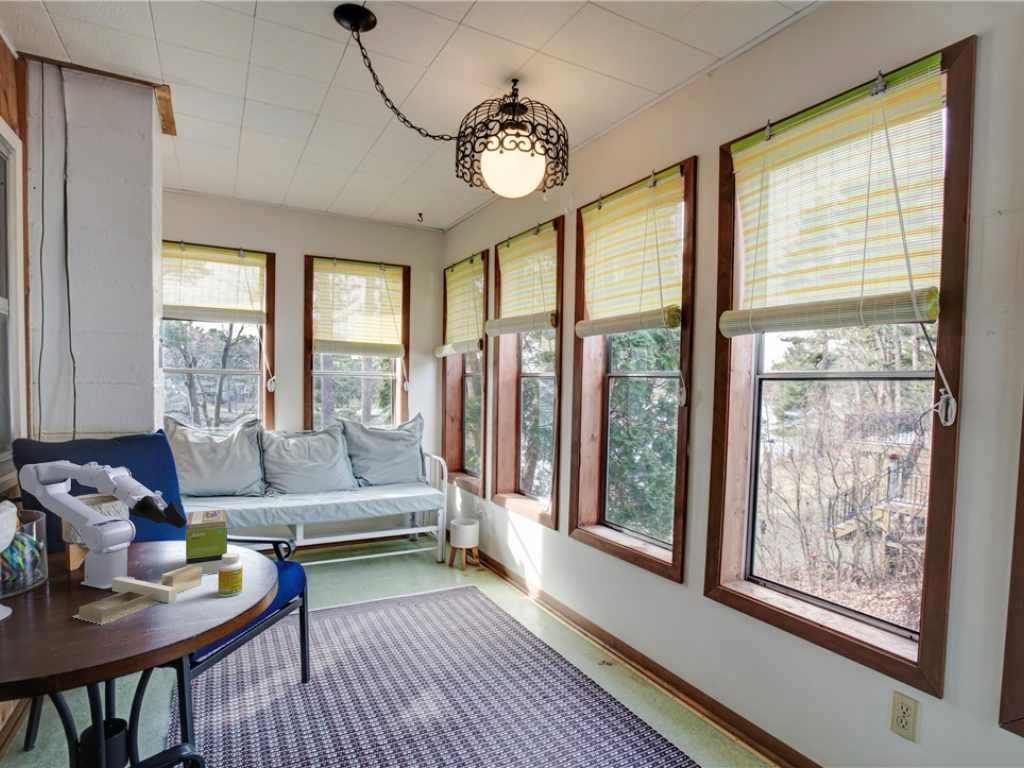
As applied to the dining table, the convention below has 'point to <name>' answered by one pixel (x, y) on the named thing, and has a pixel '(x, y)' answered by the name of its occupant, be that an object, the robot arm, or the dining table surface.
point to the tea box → (206, 539)
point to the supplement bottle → (230, 575)
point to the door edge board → (145, 588)
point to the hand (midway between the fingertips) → (173, 522)
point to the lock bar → (183, 578)
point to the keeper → (115, 607)
